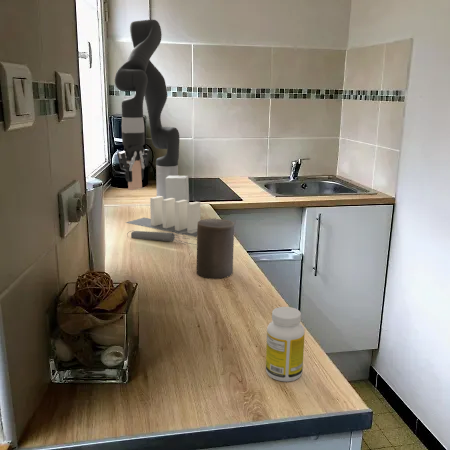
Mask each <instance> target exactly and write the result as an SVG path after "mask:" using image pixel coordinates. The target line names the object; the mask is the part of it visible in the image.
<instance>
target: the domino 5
mask: <svg viewBox="0 0 450 450" xmlns="http://www.w3.org/2000/svg"><path fill="white" fill-rule="evenodd" d="M200 220H201V201H193V202H189V204H187V233H194V232H197V230H195V229H197V225H198V221H200ZM189 230H191V231H192V232H189Z"/></svg>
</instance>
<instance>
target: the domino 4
mask: <svg viewBox="0 0 450 450" xmlns="http://www.w3.org/2000/svg"><path fill="white" fill-rule="evenodd" d="M187 204H188V200H180V201H176V202H175V230H177V231H180V230H183V229H186V228H187Z"/></svg>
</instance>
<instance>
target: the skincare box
mask: <svg viewBox="0 0 450 450" xmlns="http://www.w3.org/2000/svg"><path fill="white" fill-rule="evenodd" d="M165 181H166V199H168V198H175V202H176V201H180V200H188V204H189V203H190V194H189V193H190V191H189V189H190V188H189V186H190V185H189V175H178V176H168V177H167V178H165Z"/></svg>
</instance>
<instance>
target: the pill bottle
mask: <svg viewBox="0 0 450 450" xmlns="http://www.w3.org/2000/svg"><path fill="white" fill-rule="evenodd" d="M301 320H302V312H301V311H300V310H299V309H298V308H295V307H291V306H279V307H278V306H277V307H276V308H273V310H272V313H271V321H270V322H269V324H268V325H267V327H266V348H265V349H266V350H265V371H266V374H267V375H268V376H269V378H271V379H272V380H273V379H274V380H276V381H278V382H294V381H296V380H298V379H300V377H301V376H302V374H303V366H304V352H305V351H304V350H305V349H304V348H305V328H304V326H303V324H302V323H301Z"/></svg>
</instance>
